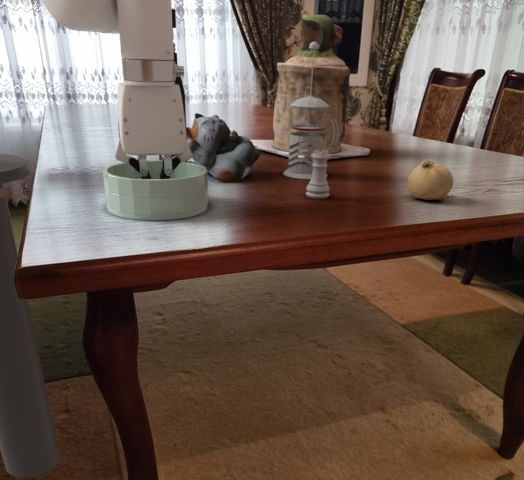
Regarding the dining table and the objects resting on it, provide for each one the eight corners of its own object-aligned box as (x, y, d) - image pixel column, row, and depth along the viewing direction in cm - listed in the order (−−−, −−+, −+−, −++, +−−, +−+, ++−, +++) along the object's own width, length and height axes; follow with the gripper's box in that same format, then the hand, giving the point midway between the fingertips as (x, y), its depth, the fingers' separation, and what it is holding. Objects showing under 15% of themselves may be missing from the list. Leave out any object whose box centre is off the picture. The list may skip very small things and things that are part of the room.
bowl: (125, 225, 78) (121, 183, 75) (95, 200, 90) (90, 163, 87) (224, 213, 85) (224, 175, 82) (184, 191, 97) (182, 157, 94)
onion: (412, 192, 102) (418, 153, 99) (453, 198, 99) (462, 158, 95) (399, 200, 96) (406, 159, 93) (443, 206, 93) (451, 165, 89)
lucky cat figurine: (240, 185, 103) (203, 117, 96) (196, 200, 110) (159, 138, 103) (271, 151, 112) (240, 87, 105) (229, 168, 119) (197, 109, 113)
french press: (297, 168, 120) (305, 42, 108) (343, 175, 115) (356, 43, 102) (274, 174, 113) (279, 40, 101) (321, 182, 108) (333, 41, 95)
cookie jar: (304, 163, 125) (315, 3, 109) (242, 149, 142) (244, 8, 126) (373, 155, 139) (391, 12, 123) (309, 143, 155) (318, 15, 140)
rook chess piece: (306, 199, 95) (310, 152, 91) (303, 193, 99) (306, 148, 95) (331, 199, 95) (335, 153, 91) (327, 194, 99) (331, 149, 95)
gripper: (196, 74, 83) (199, 192, 92) (92, 71, 79) (106, 195, 88) (206, 76, 77) (208, 202, 86) (94, 73, 72) (109, 207, 82)
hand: (157, 198), depth 87 cm, fingers closed
